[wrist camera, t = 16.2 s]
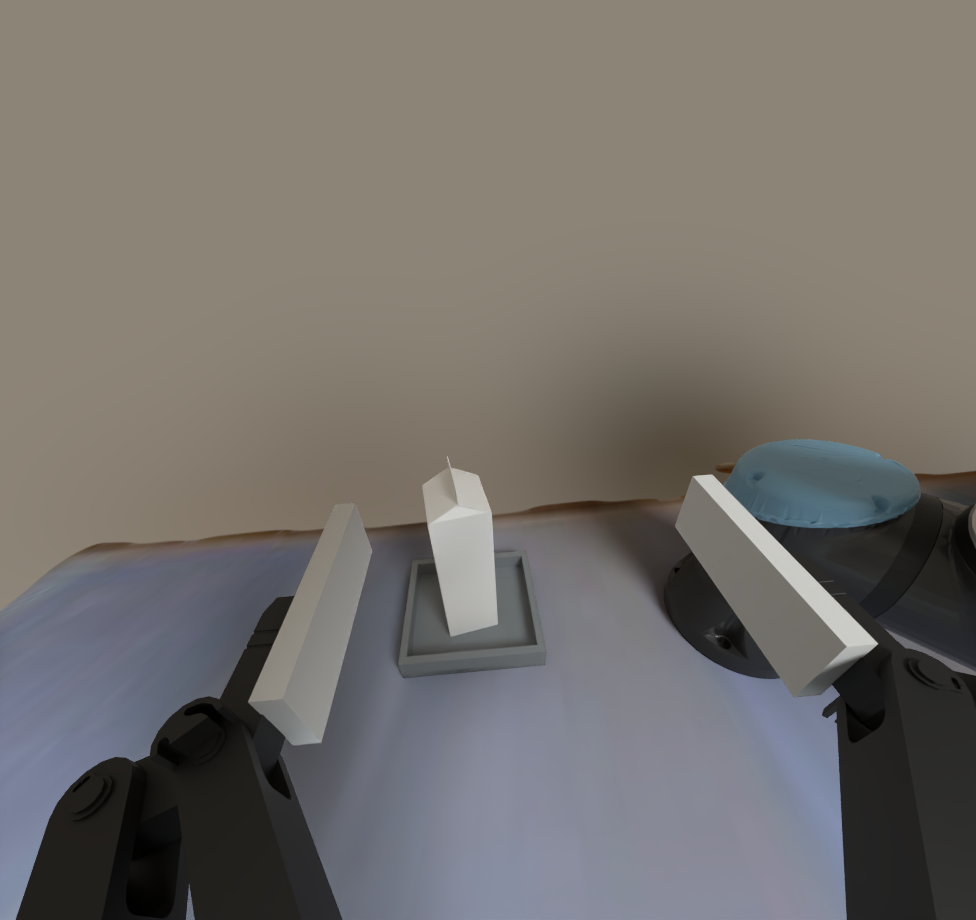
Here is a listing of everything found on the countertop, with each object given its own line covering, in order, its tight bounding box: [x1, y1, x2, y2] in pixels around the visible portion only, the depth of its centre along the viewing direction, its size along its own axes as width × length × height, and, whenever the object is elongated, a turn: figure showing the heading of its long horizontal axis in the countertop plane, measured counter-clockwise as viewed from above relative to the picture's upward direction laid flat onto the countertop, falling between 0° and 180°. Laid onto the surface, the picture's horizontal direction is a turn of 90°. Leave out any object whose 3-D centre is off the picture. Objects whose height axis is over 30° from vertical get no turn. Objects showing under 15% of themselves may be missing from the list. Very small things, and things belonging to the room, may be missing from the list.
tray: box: [398, 551, 546, 678], centre depth 44 cm, size 16×14×3 cm
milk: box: [422, 456, 498, 637], centre depth 38 cm, size 6×6×22 cm
